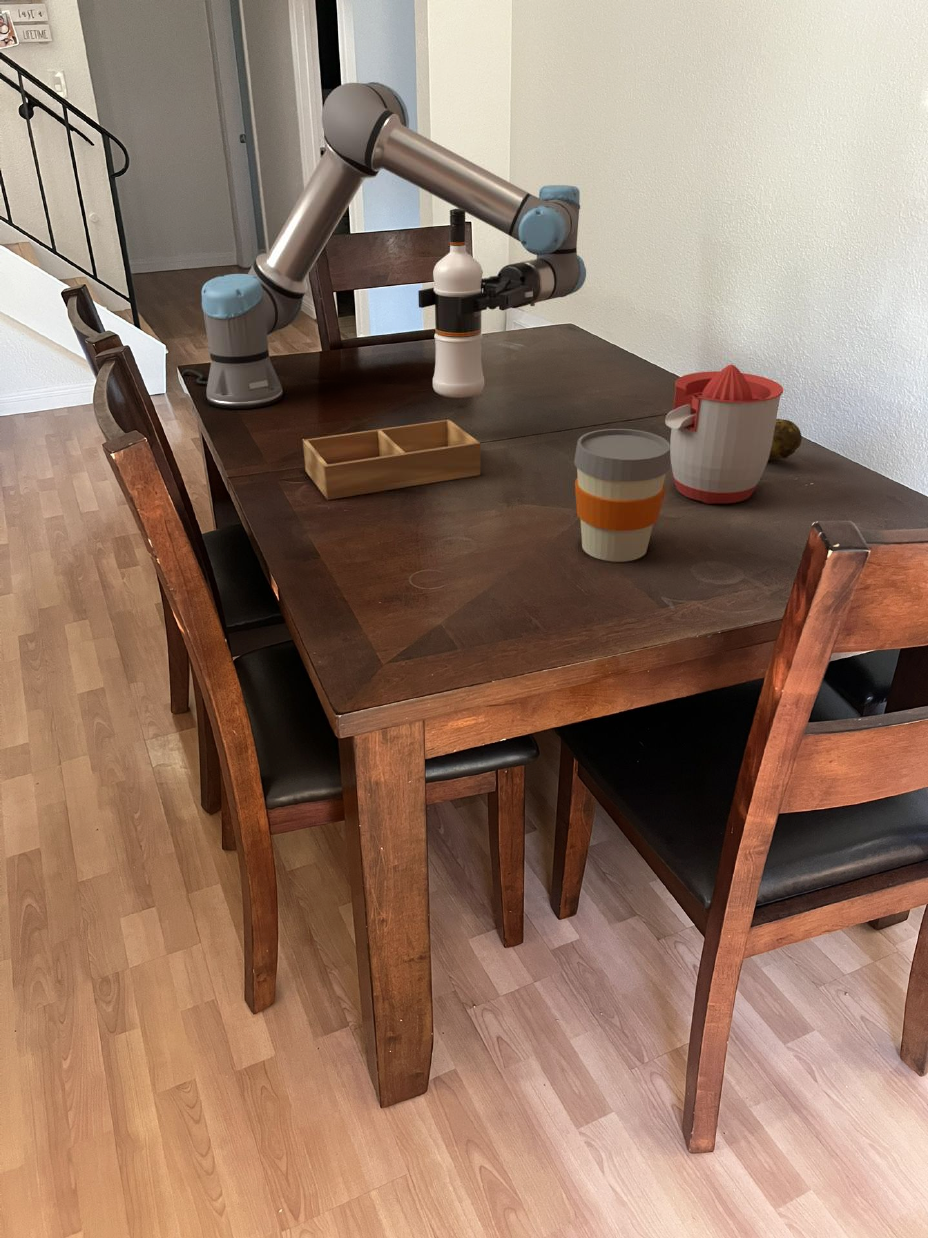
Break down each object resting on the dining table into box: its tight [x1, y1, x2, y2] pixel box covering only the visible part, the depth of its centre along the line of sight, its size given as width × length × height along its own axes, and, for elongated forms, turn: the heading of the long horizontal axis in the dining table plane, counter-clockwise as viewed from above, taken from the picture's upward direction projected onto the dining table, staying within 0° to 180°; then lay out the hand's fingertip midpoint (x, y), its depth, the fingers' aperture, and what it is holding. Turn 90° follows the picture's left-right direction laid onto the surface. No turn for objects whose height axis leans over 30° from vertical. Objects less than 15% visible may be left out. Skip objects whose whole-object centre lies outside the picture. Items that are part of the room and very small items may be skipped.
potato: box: [768, 418, 803, 461], centre depth 152 cm, size 8×13×8 cm, turn 12°
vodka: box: [432, 208, 485, 399], centre depth 153 cm, size 9×9×30 cm
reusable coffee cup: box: [573, 428, 671, 563], centre depth 121 cm, size 13×13×15 cm
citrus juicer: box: [664, 363, 784, 505], centre depth 136 cm, size 16×17×20 cm
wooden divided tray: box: [302, 419, 481, 501], centre depth 148 cm, size 13×26×6 cm, turn 113°
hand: (439, 302), depth 150 cm, fingers closed on vodka, 8 cm apart
